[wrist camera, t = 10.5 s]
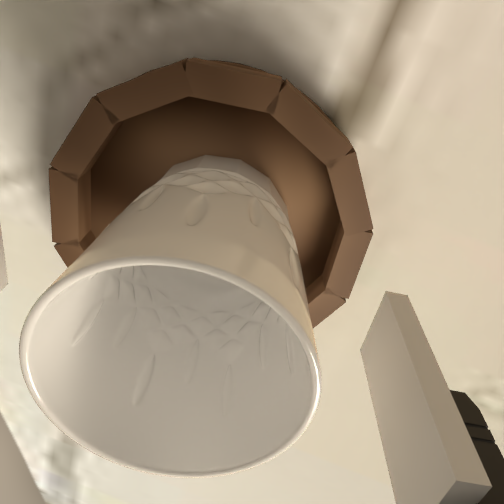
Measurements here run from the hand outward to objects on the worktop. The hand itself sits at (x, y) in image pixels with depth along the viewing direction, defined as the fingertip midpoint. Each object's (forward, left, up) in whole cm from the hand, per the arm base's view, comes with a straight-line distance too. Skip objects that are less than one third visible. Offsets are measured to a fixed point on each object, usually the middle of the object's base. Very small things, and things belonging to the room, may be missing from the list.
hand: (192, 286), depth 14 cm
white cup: (0, 0, -6) cm, 6 cm away
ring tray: (0, 0, -7) cm, 7 cm away
